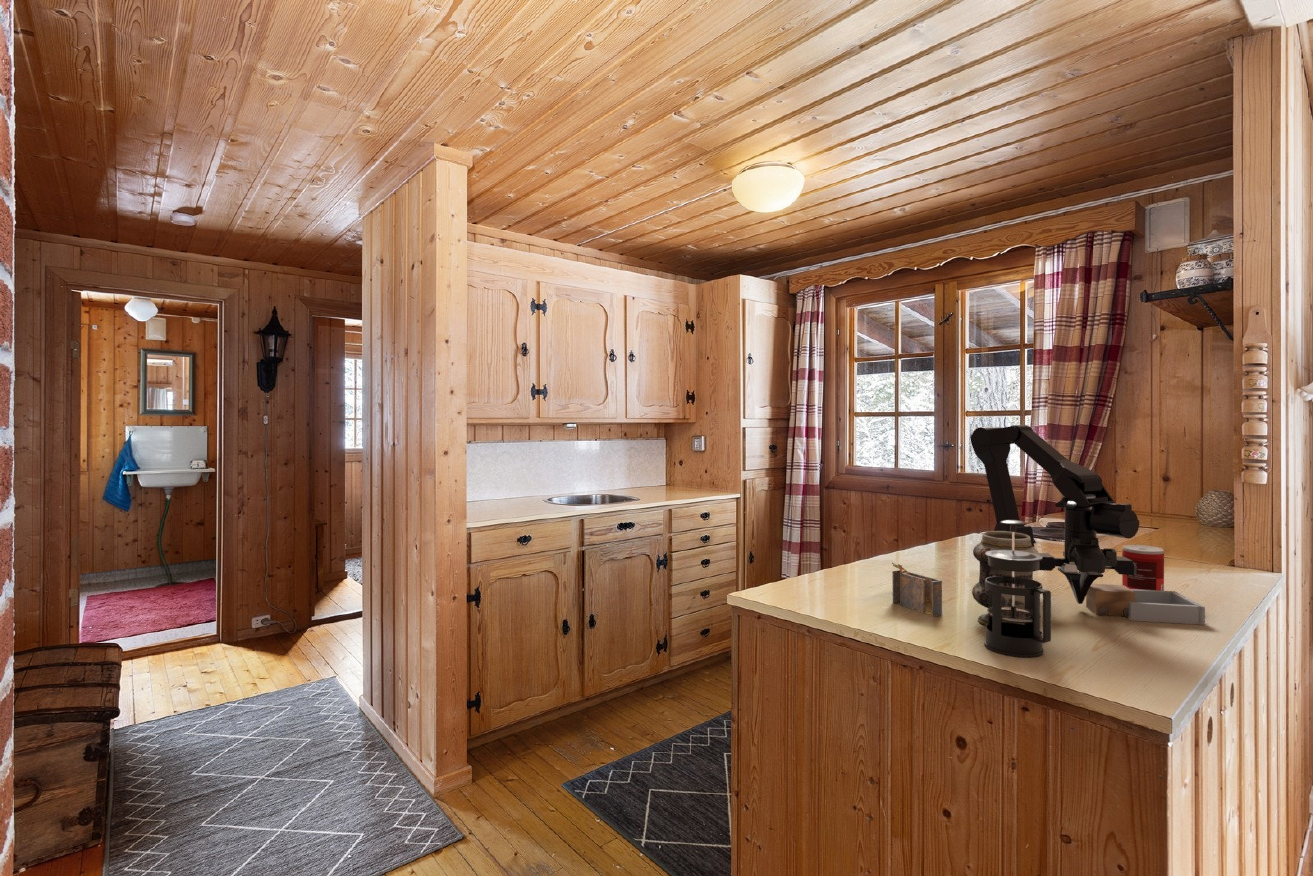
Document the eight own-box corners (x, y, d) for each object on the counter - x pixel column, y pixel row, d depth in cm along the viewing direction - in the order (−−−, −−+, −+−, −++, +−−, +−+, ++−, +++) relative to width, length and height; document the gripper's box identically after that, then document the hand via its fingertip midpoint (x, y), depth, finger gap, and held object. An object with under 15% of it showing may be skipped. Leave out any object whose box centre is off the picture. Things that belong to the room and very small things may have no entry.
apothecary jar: (1015, 637, 122) (1014, 542, 122) (958, 620, 133) (958, 532, 132) (1053, 626, 128) (1053, 535, 127) (996, 611, 138) (996, 527, 138)
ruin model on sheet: (891, 605, 146) (890, 562, 146) (901, 603, 147) (901, 560, 147) (931, 618, 136) (931, 572, 135) (942, 616, 137) (941, 570, 137)
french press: (969, 643, 119) (968, 518, 119) (1004, 635, 123) (1003, 514, 123) (1029, 664, 109) (1029, 528, 108) (1065, 655, 113) (1065, 523, 112)
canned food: (1149, 591, 152) (1149, 544, 151) (1172, 600, 144) (1173, 551, 144) (1114, 591, 153) (1114, 544, 152) (1136, 600, 145) (1136, 551, 144)
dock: (1130, 620, 131) (1130, 603, 131) (1107, 603, 142) (1107, 588, 142) (1204, 624, 127) (1205, 607, 127) (1174, 607, 139) (1175, 591, 139)
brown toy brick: (1096, 615, 134) (1097, 591, 134) (1085, 605, 141) (1085, 582, 141) (1136, 617, 132) (1136, 593, 132) (1122, 607, 139) (1122, 584, 139)
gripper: (1041, 535, 133) (1040, 611, 133) (1148, 539, 128) (1147, 618, 128) (1027, 526, 144) (1026, 596, 144) (1125, 530, 138) (1124, 602, 139)
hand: (1079, 603), depth 138 cm, fingers closed
